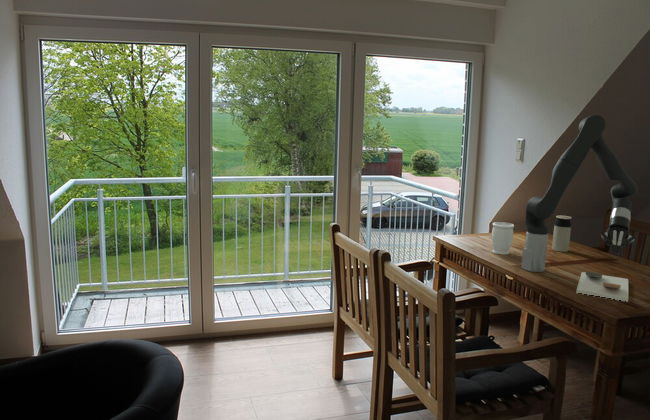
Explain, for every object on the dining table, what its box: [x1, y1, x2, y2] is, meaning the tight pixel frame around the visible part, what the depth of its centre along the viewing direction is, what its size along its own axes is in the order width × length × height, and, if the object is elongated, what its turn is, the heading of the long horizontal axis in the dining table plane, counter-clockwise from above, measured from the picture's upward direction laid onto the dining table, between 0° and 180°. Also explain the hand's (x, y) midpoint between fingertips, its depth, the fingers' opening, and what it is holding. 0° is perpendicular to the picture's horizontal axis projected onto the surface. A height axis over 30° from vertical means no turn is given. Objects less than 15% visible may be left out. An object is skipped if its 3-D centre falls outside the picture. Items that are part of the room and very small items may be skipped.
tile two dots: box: [603, 282, 621, 288], centre depth 214 cm, size 2×6×10 cm
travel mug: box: [551, 215, 572, 253], centre depth 282 cm, size 8×8×18 cm
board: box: [575, 271, 629, 303], centre depth 222 cm, size 29×18×2 cm, turn 151°
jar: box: [491, 221, 515, 256], centre depth 273 cm, size 11×10×15 cm
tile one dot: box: [585, 271, 603, 277], centre depth 228 cm, size 2×6×10 cm
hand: (615, 254), depth 220 cm, fingers closed
